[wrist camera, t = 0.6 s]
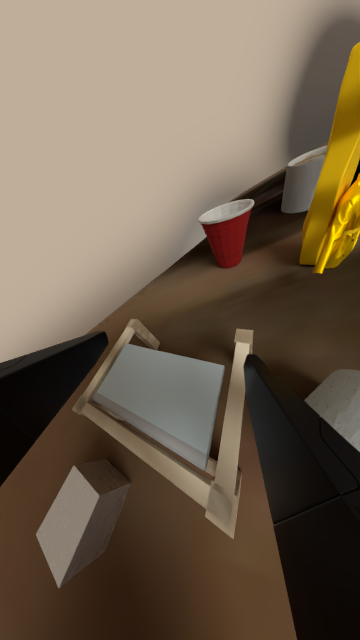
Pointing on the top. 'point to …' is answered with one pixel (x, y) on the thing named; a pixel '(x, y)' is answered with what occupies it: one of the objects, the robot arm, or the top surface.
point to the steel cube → (82, 518)
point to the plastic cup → (227, 230)
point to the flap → (165, 398)
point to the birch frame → (212, 495)
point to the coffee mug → (302, 181)
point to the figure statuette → (337, 182)
